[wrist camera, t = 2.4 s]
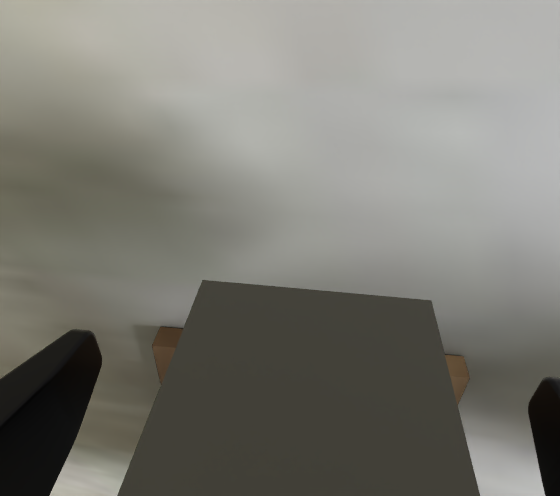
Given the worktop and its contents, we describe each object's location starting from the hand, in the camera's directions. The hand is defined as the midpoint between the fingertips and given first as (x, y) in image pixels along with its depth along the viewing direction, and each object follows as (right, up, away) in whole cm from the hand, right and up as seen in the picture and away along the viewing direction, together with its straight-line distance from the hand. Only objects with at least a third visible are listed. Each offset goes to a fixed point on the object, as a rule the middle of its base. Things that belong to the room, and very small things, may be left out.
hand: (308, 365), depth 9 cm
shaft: (0, -7, +5) cm, 8 cm away
